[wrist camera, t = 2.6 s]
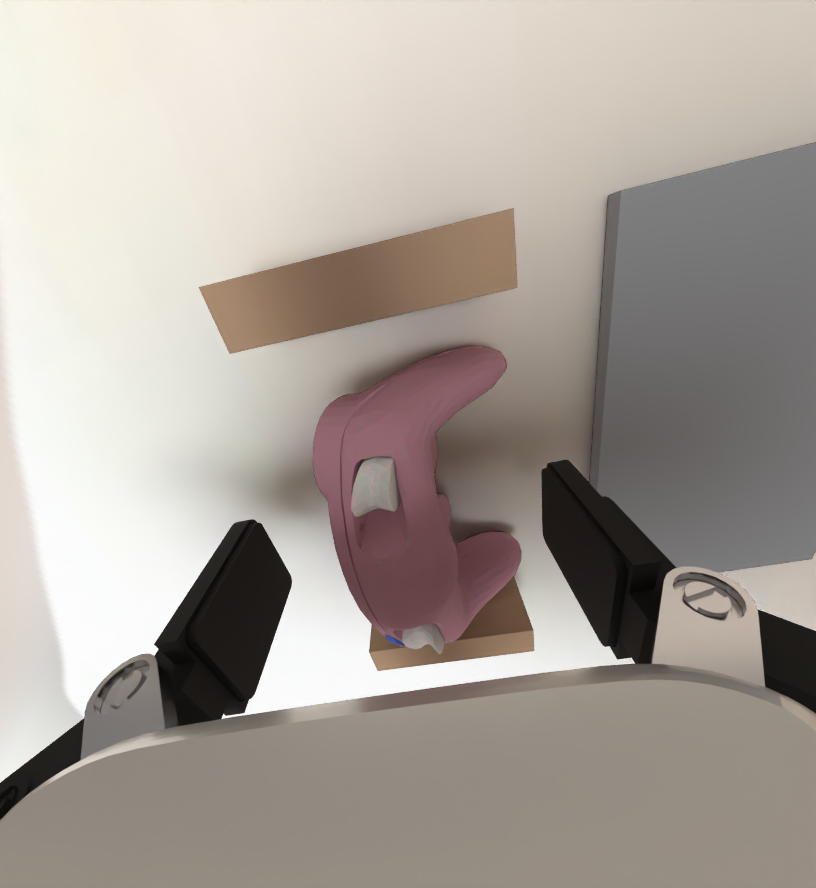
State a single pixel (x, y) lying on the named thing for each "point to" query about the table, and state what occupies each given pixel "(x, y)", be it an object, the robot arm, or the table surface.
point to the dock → (372, 298)
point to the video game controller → (408, 501)
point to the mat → (712, 362)
